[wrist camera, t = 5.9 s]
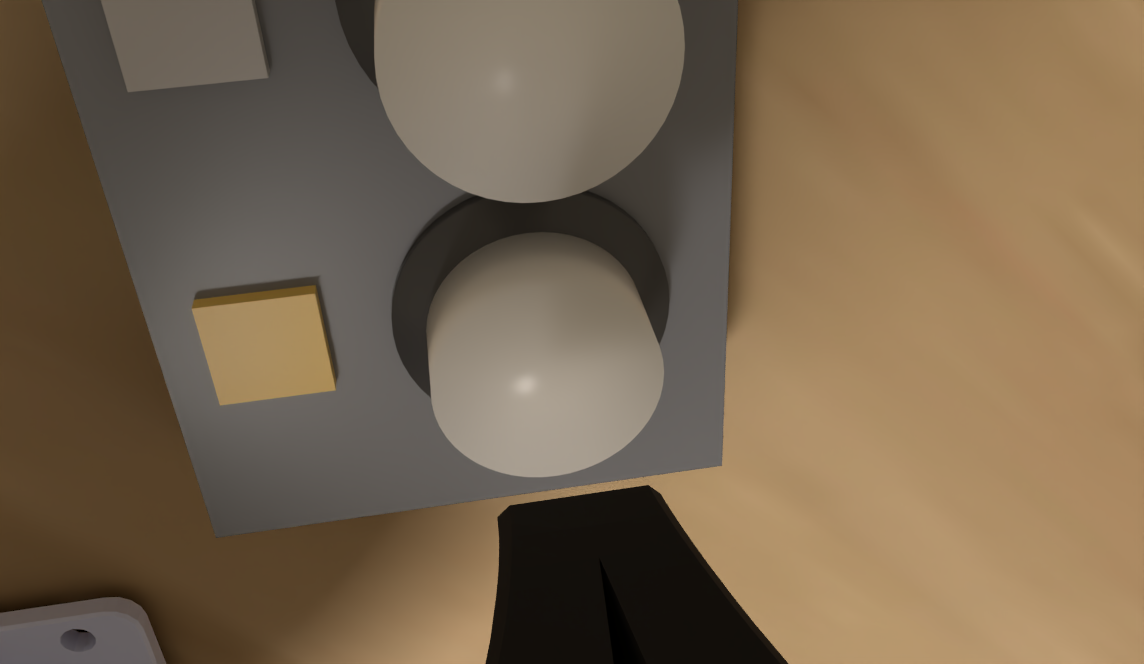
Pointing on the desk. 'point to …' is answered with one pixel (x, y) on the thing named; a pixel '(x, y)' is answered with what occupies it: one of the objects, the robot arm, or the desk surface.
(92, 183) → the desk surface
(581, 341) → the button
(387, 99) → the button middle
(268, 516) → the switch panel
